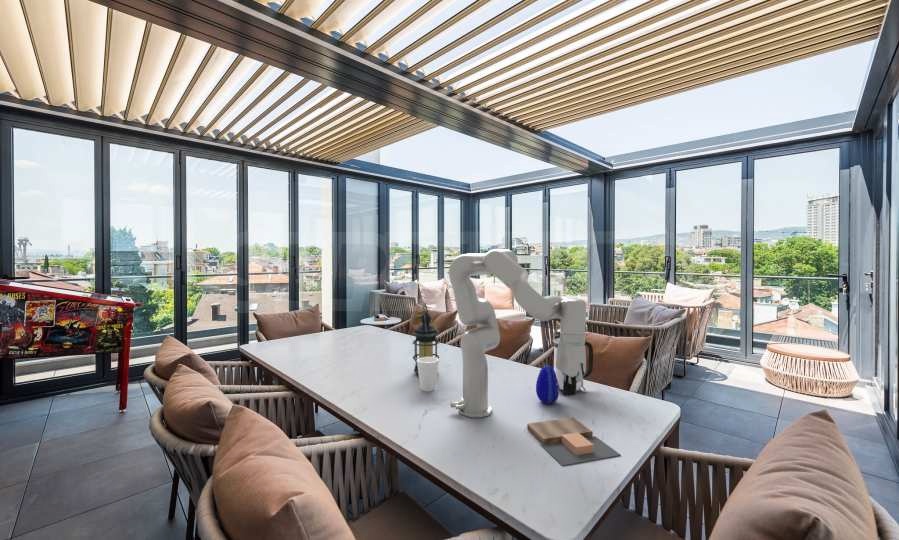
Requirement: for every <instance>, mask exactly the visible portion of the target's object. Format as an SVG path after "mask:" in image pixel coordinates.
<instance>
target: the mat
mask: <svg viewBox="0 0 899 540" xmlns="http://www.w3.org/2000/svg"><path fill="white" fill-rule="evenodd" d="M586 439H587V440H588V441H590V442H591V443H592V444H593V445H594V448H593V453H586V454H580V455H575V454H574V453H573V452H572V451H571V450H570V449H569V448H567V447H566V446H565V445H564V444H563V443H562V442H554V443H548V444H542V443H541V444H540V446H541V447H542V448H543V449H544V450H545V451H546V452H547V453H548V454H549V455H550V456H551V457H552V458H553V459H554V460H555V461H557V463H558V464H560V465H561V467H565V466H571V465H577V464H582V463H588V462H593V461H594V462H595V461H600V460H604V459H610V458H616V457H621V453H619V452H618V451H616V449H614V448H612V447H610V445H608V444H607V443H606V442H604V441H603V440H601V439H600V438H598V437H597V436H596V435H595V436H594V435H593V437H586Z"/></svg>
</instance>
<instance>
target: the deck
mask: <svg viewBox="0 0 899 540" xmlns="http://www.w3.org/2000/svg"><path fill="white" fill-rule="evenodd" d="M526 425H527V426H526V429H528V430H529V431H530V432H529V431H528V432H529V433H530V434H531V435H532V436H534V438H536V440H538V441H539V442H540V443H541V445H542V444H548V443H554V442H561V439H562V435H564V434H571V433H579V434H581V435H582V436H583V437H584V438H586V437H593V436H594V435H593V434H594V431H593V430H591V429H590V428H589V427H587V426H586V425H584V424H583V423H582V422H581V421H579V420H577V419H576V418H574V417H567V418H559V419H552V420H545V421H538V422H531V423H527V424H526Z"/></svg>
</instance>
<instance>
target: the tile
mask: <svg viewBox="0 0 899 540" xmlns="http://www.w3.org/2000/svg"><path fill="white" fill-rule="evenodd" d="M561 442H562V443H563V444H564V445H565V446H566V447H567V448H569V449H570V450H571V451H572V452H573V453H574V454H575V455H580V454H586V453H593V448H594V445H593V444H592V443H591V442H590V441H588V440H587V439H586V438H584V437H583V436H582V435H581V434H579V433H571V434H564V435H562V439H561Z"/></svg>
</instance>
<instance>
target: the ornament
mask: <svg viewBox="0 0 899 540" xmlns="http://www.w3.org/2000/svg"><path fill="white" fill-rule="evenodd" d="M560 390H561V389H560V388H559V384H558V380H557V377H556V373H555V371H554V369H553V367H552V366H551V365H544V366H542V368H541V369H540V371H539V373H538V376H537V379H536V384H535V393H536V396H537V398H538V400H539V401H540V402H542V403H544V404H549V405H551V404H554V403H556V402H557V400H558V399H559V394H560Z"/></svg>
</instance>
